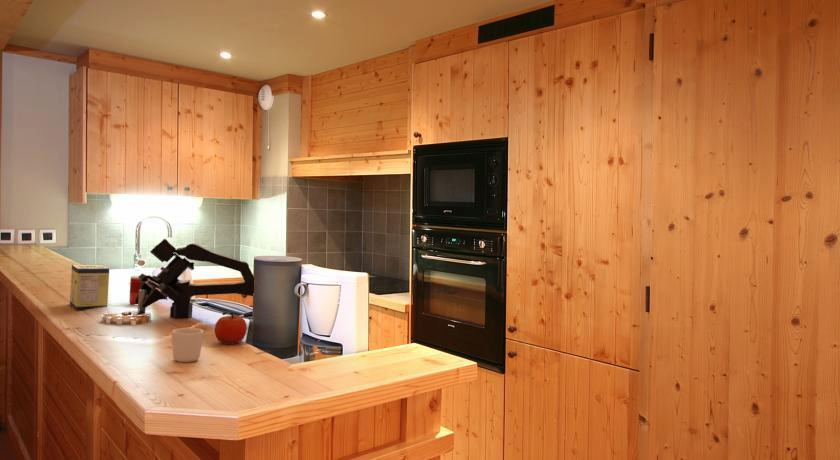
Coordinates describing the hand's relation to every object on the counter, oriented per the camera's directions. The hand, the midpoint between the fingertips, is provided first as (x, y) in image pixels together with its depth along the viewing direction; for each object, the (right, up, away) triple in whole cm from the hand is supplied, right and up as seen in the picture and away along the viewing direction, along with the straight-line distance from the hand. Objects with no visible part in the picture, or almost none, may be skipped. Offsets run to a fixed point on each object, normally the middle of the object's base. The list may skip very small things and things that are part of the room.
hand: (139, 305), depth 199 cm
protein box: (-31, -4, +23) cm, 38 cm away
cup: (+34, -9, -42) cm, 55 cm away
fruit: (+38, -9, -21) cm, 44 cm away
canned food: (-18, -4, +37) cm, 41 cm away
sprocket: (-3, -5, -3) cm, 6 cm away
